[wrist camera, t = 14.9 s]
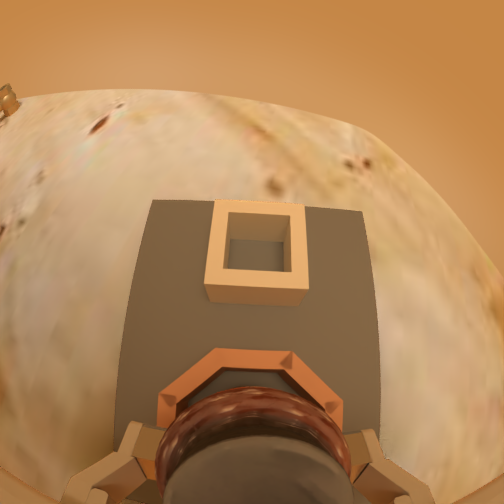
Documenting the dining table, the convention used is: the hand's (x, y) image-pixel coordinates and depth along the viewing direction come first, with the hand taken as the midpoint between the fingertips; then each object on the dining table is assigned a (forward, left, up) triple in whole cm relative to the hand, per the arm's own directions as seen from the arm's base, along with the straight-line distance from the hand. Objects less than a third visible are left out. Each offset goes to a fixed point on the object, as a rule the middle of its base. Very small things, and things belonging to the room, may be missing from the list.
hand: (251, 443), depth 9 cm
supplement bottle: (0, -1, -6) cm, 6 cm away
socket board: (0, +4, -9) cm, 10 cm away
